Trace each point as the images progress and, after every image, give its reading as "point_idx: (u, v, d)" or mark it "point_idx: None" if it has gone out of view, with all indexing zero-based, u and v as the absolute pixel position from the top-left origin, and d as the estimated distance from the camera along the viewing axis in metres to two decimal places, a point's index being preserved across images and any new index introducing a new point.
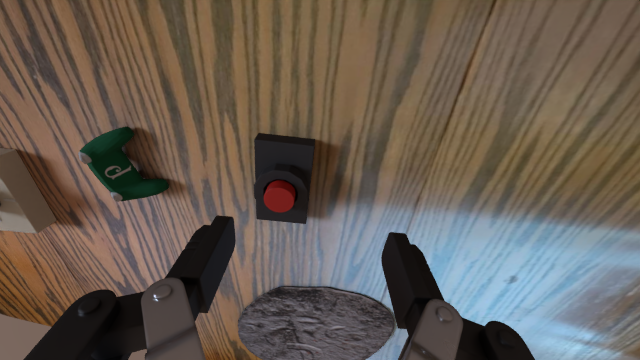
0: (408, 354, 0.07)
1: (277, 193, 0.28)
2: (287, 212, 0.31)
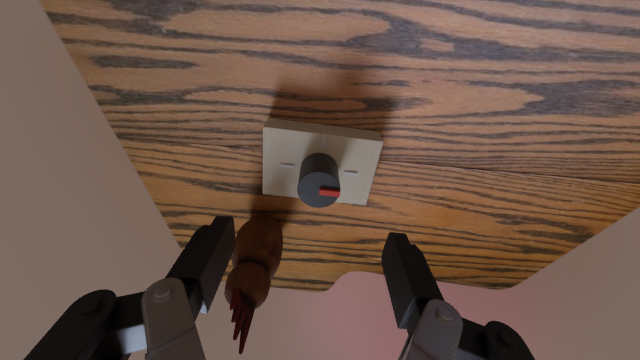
0: (408, 354, 0.07)
1: None
2: None
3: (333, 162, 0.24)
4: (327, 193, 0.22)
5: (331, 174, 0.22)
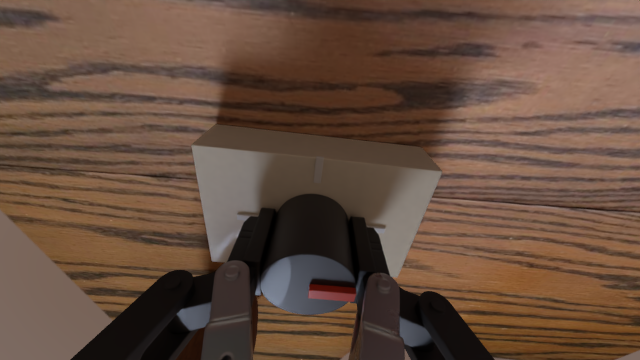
0: (362, 336, 0.07)
1: None
2: None
3: (339, 214, 0.12)
4: (327, 296, 0.10)
5: (336, 259, 0.09)
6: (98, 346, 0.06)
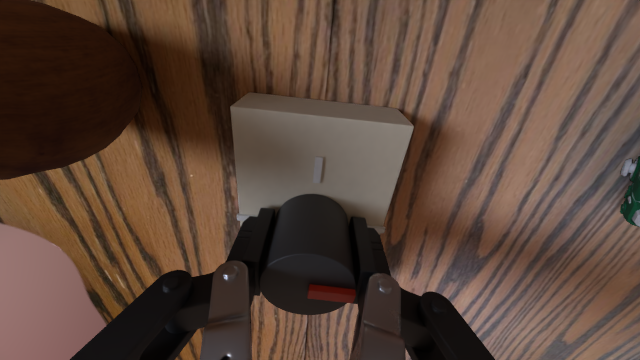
0: (363, 337, 0.07)
1: None
2: None
3: (340, 215, 0.12)
4: (326, 297, 0.10)
5: (337, 260, 0.09)
6: (96, 347, 0.06)
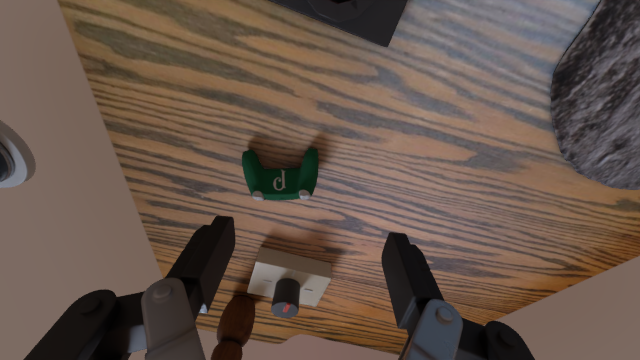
0: (408, 354, 0.07)
1: None
2: None
3: (280, 284, 0.37)
4: (286, 309, 0.35)
5: (274, 303, 0.35)
6: None
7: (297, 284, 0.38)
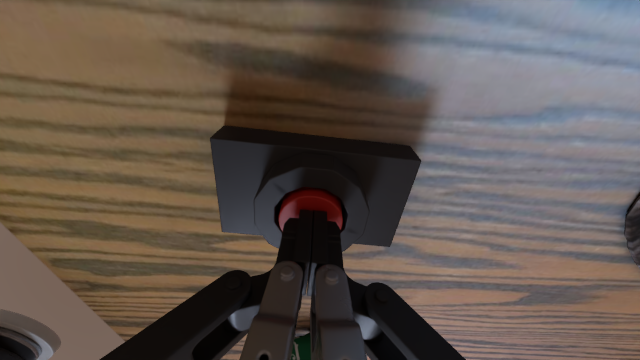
0: (321, 337, 0.07)
1: None
2: (361, 209, 0.13)
3: None
4: None
5: None
6: (164, 326, 0.07)
7: None
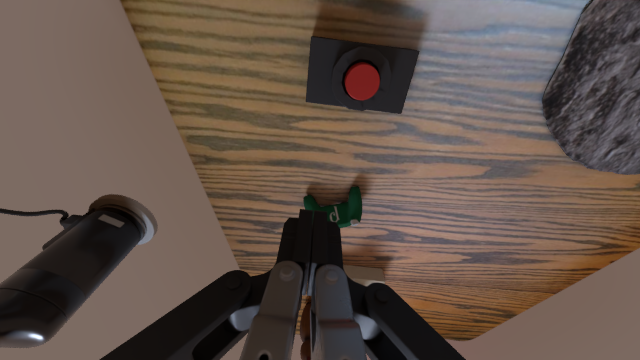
0: (321, 337, 0.07)
1: (352, 83, 0.25)
2: (388, 74, 0.26)
3: None
4: None
5: None
6: (163, 326, 0.07)
7: None
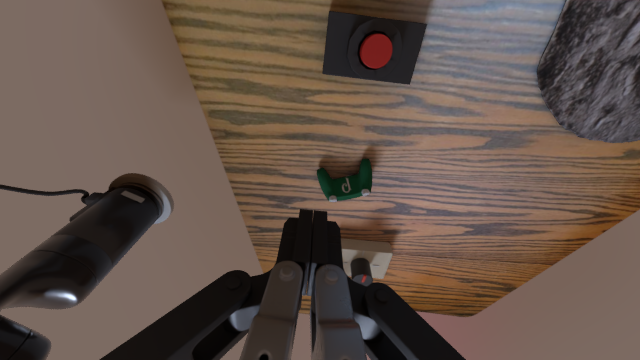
0: (321, 337, 0.07)
1: (368, 52, 0.28)
2: (399, 44, 0.29)
3: (354, 263, 0.49)
4: (363, 279, 0.46)
5: (354, 276, 0.46)
6: (163, 326, 0.07)
7: (367, 261, 0.49)
